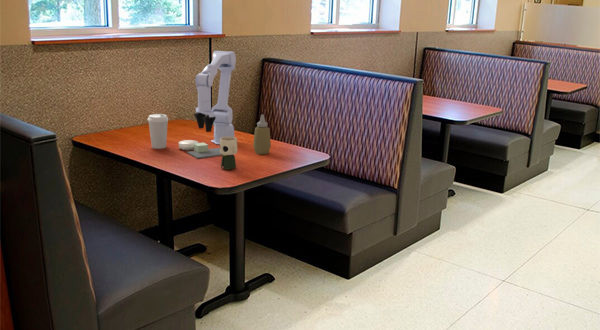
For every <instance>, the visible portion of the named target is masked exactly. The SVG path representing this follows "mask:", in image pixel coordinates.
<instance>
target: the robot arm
mask: <svg viewBox="0 0 600 330" xmlns="http://www.w3.org/2000/svg"><path fill="white" fill-rule="evenodd" d="M236 56H237V55H236V54H235V51H234V50H233V51H232V50H231V51H228V50H226V51H225V50H224V51H223V50H217V49H216V50H214V51H213V53H212V60H211V63H210V64H209V63H208V64H207V65H206V66H205V67H204V68H203V70H202V71H201V72H199V73H197V74H196V76H195V82H194V83H195V86H196V91H197V107H195V113H193V116H194V117H195V120H196V122H197V123H196V124H197V126H198V129H205V132H206V133H211V132H212V130H213V139H211V140H210V141H211V142H212V143H214V144H216V145H219V146H220V138H221V137H235V127H234V125H233V124H232V122H233V118H234V116H233V108H232V107H230V106H229V105H228V104H229V94H230V86H231V80H232V79H231V76H232V71H234V70H235V68H236V61H237V57H236ZM218 70H219V71H220V78H219V86H218V96H217V103H216V104H215V105H214V106H212V101H211V100H212V93H211V92H212V89H211V88H212V86H213V82H214V78H215V77H216V75H218ZM204 127H205V128H204Z"/></svg>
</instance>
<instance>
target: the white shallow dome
mask: <svg viewBox="0 0 600 330" xmlns="http://www.w3.org/2000/svg"><path fill="white" fill-rule="evenodd" d="M195 143H199V141H198V140H192V139H187V140H186V139H184V140H180V141H178V148H179V149H181V150H183V151H195V150H194V144H195Z"/></svg>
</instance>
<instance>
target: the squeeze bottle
mask: <svg viewBox="0 0 600 330" xmlns="http://www.w3.org/2000/svg"><path fill="white" fill-rule="evenodd" d="M259 119H260V120H259V121H258V122H256V125H257V126H255V128H254V134H253V143H252V144H253V145H252V146H253V150H254V152H255V154H256V155H268V154H269V152H270V150H271V147H272V143H271V131H270V127H269V126H268V122H267V121H266V119H265V115H264V114H260V118H259Z"/></svg>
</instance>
